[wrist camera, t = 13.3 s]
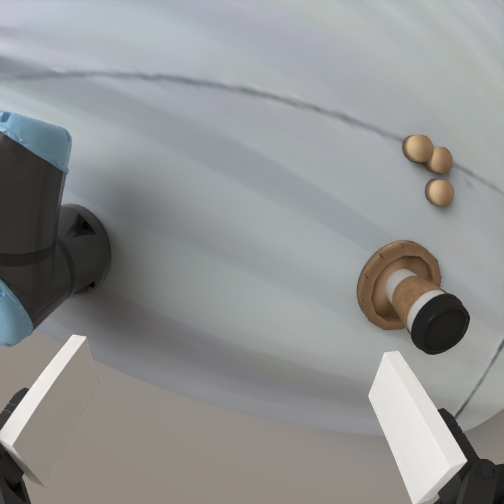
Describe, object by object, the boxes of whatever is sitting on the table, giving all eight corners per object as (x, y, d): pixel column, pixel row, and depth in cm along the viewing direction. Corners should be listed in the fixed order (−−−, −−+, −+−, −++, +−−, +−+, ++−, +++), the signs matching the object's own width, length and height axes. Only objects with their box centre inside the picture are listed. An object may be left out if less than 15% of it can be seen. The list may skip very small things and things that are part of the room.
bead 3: (423, 201, 42) (433, 204, 39) (426, 176, 41) (436, 178, 38) (442, 204, 42) (452, 208, 39) (444, 180, 41) (455, 182, 38)
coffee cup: (424, 294, 46) (472, 339, 32) (383, 316, 47) (422, 369, 33) (416, 252, 44) (469, 290, 29) (371, 274, 45) (415, 322, 30)
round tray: (349, 324, 48) (353, 331, 46) (365, 237, 43) (371, 241, 41) (421, 322, 48) (427, 328, 46) (442, 243, 44) (449, 247, 41)
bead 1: (402, 160, 40) (411, 160, 37) (402, 134, 39) (411, 133, 36) (423, 162, 40) (433, 163, 37) (423, 137, 39) (433, 136, 36)
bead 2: (422, 169, 40) (432, 171, 37) (423, 144, 39) (433, 144, 36) (441, 173, 40) (451, 175, 37) (442, 149, 39) (453, 149, 36)
